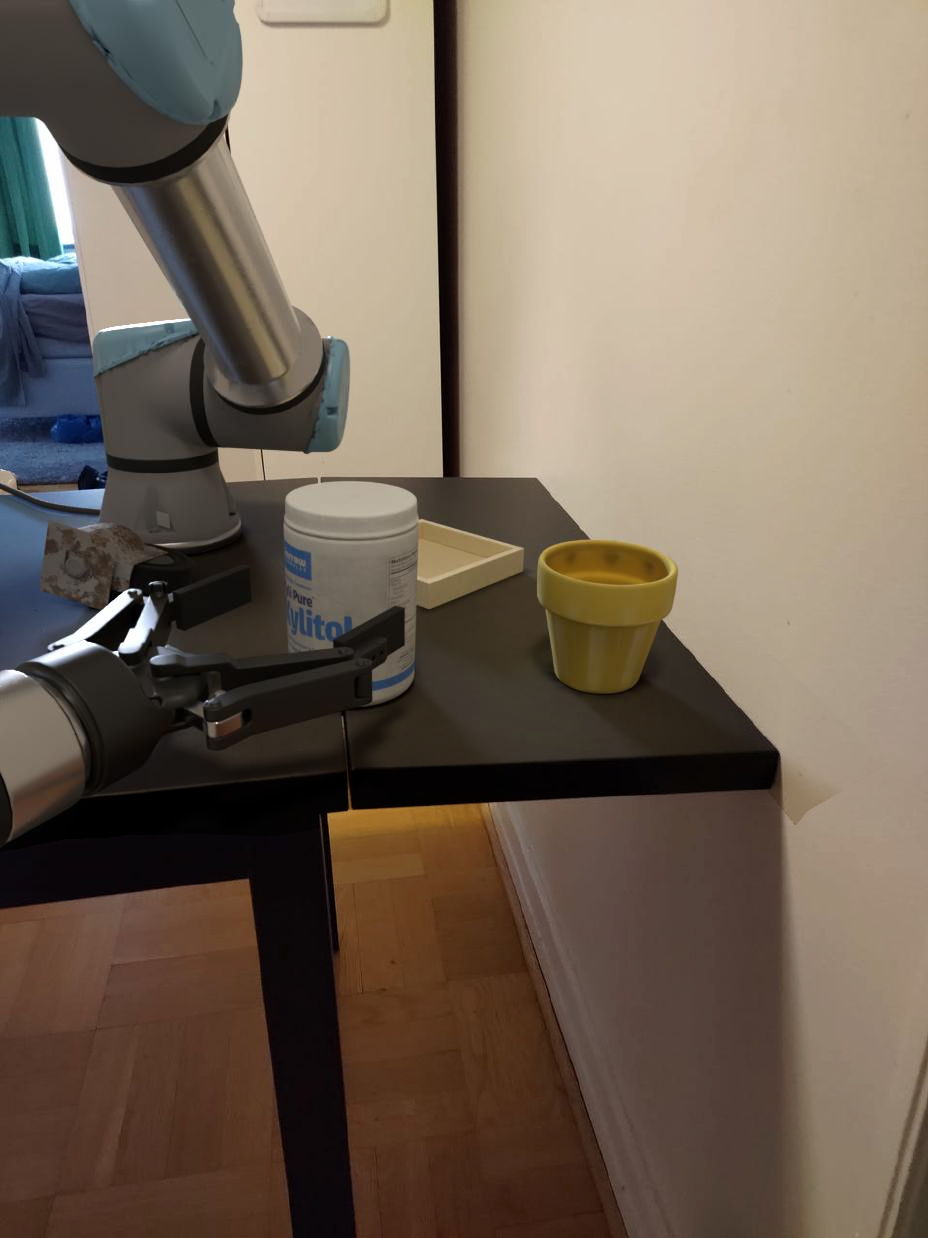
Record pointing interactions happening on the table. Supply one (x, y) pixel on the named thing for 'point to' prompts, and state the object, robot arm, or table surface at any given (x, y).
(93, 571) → the caster wheel
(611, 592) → the flower pot
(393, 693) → the supplement tub
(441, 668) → the table surface
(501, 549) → the shallow tray
